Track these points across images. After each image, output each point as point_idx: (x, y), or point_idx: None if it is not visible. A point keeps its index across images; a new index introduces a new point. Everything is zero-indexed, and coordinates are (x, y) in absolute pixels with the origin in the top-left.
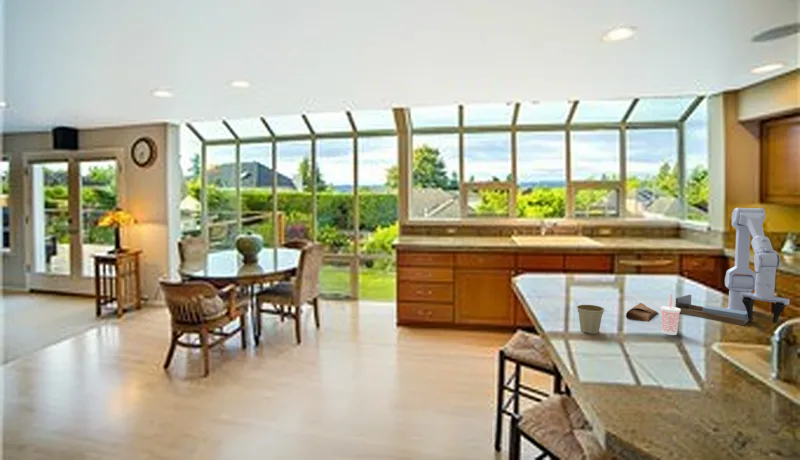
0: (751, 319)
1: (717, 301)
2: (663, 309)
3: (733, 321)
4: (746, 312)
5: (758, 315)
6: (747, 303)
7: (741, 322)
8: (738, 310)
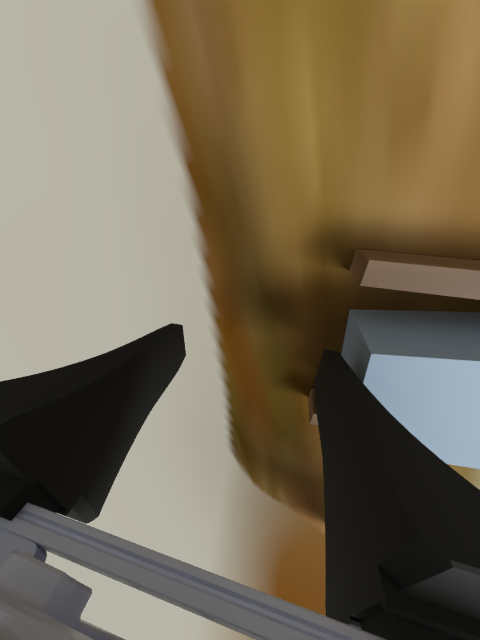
0: None
1: None
2: None
3: (450, 262)
4: None
5: (306, 486)
6: (419, 486)
7: (380, 255)
8: None
